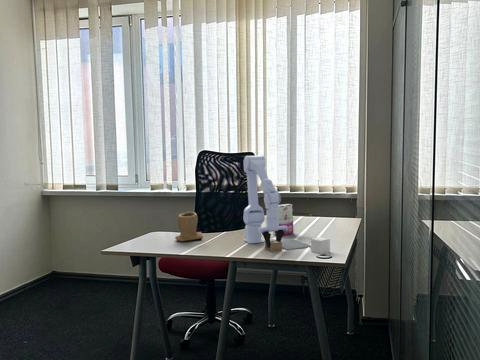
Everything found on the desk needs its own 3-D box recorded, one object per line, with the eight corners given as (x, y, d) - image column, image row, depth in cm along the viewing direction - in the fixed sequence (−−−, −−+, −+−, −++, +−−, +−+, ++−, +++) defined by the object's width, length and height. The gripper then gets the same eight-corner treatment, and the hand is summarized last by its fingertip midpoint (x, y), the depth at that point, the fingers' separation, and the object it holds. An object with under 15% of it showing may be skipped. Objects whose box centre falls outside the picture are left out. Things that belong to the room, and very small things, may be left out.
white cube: (311, 251, 208) (310, 238, 208) (320, 249, 212) (319, 237, 211) (321, 254, 203) (320, 240, 203) (330, 251, 207) (329, 238, 206)
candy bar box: (287, 232, 256) (287, 203, 255) (293, 233, 252) (293, 204, 251) (272, 235, 249) (271, 205, 248) (278, 236, 245) (277, 206, 244)
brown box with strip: (264, 248, 217) (264, 239, 217) (273, 247, 219) (273, 238, 218) (273, 252, 209) (273, 243, 208) (282, 251, 210) (281, 242, 210)
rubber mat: (269, 243, 228) (269, 242, 228) (293, 240, 234) (293, 239, 234) (286, 250, 212) (286, 249, 212) (312, 247, 217) (312, 245, 217)
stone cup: (181, 244, 232) (180, 214, 231) (173, 240, 242) (172, 212, 241) (208, 240, 239) (207, 212, 238) (199, 236, 249) (198, 209, 248)
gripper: (262, 220, 206) (262, 249, 207) (290, 217, 212) (290, 246, 213) (255, 218, 213) (256, 247, 214) (283, 215, 218) (283, 243, 219)
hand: (273, 246), depth 214 cm, fingers closed on brown box with strip, 4 cm apart
